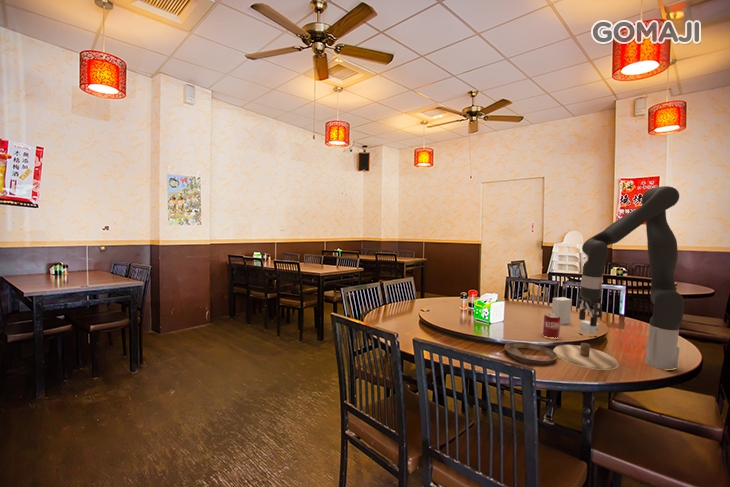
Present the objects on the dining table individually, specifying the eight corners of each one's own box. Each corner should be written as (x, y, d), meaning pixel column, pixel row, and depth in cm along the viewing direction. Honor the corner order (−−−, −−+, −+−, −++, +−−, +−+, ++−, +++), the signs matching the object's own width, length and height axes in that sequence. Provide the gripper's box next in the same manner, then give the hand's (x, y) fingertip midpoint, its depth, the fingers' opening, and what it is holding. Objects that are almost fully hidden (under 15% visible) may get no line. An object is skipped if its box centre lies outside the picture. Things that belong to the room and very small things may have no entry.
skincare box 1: (562, 321, 198) (564, 296, 197) (570, 324, 193) (572, 299, 191) (550, 321, 197) (552, 297, 195) (558, 325, 191) (560, 299, 189)
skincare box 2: (588, 338, 172) (589, 324, 171) (578, 333, 178) (579, 320, 177) (597, 337, 173) (599, 323, 172) (587, 333, 179) (589, 320, 178)
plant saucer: (511, 344, 162) (512, 337, 161) (560, 356, 149) (561, 349, 148) (497, 358, 146) (498, 350, 145) (551, 373, 133) (551, 365, 132)
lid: (596, 347, 157) (597, 336, 157) (630, 370, 135) (631, 357, 134) (545, 345, 159) (546, 333, 159) (570, 367, 137) (571, 353, 136)
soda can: (561, 341, 166) (562, 318, 165) (545, 340, 167) (547, 316, 166) (555, 336, 173) (557, 313, 172) (540, 335, 174) (542, 312, 173)
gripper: (610, 290, 137) (606, 329, 138) (590, 283, 151) (587, 318, 152) (591, 289, 137) (587, 327, 139) (573, 282, 151) (569, 317, 153)
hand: (587, 322), depth 146 cm, fingers open, 8 cm apart
